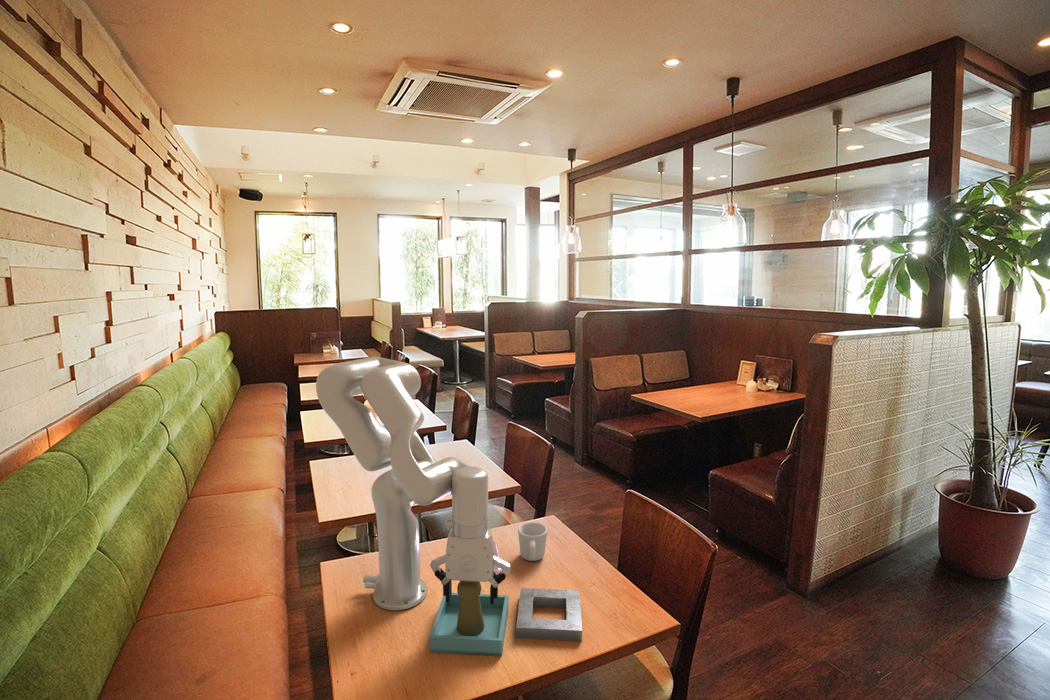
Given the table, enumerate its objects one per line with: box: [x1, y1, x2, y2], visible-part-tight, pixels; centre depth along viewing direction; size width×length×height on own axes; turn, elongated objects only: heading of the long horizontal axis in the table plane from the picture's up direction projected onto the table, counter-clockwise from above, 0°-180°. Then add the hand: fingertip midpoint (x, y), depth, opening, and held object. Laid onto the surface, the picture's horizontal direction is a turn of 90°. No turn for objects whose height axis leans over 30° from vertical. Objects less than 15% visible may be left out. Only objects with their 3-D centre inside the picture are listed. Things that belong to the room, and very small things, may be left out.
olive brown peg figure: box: [456, 581, 484, 636], centre depth 116 cm, size 6×6×11 cm
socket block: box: [515, 587, 583, 642], centre depth 121 cm, size 14×14×2 cm
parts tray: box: [428, 592, 510, 657], centre depth 117 cm, size 15×15×4 cm
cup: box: [517, 521, 548, 562], centre depth 144 cm, size 11×8×8 cm
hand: (470, 599), depth 116 cm, fingers open, 9 cm apart
